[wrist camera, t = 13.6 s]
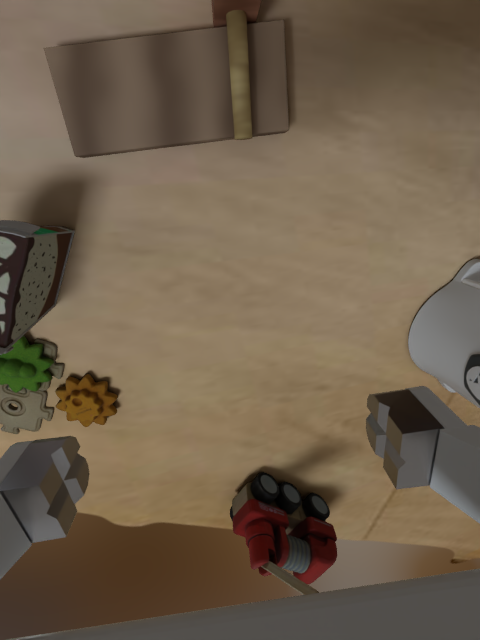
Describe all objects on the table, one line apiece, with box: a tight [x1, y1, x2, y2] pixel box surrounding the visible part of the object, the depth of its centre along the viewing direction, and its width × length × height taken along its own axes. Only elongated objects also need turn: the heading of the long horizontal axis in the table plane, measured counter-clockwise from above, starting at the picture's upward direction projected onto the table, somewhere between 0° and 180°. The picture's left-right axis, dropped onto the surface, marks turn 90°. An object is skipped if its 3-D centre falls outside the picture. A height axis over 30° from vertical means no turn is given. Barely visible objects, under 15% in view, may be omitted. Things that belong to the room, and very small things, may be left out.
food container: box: [0, 220, 75, 355], centre depth 30 cm, size 12×6×10 cm, turn 155°
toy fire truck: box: [230, 472, 337, 595], centre depth 45 cm, size 11×16×18 cm
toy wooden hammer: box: [212, 0, 261, 140], centre depth 27 cm, size 4×13×6 cm, turn 4°
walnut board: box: [44, 20, 289, 158], centre depth 29 cm, size 20×8×2 cm, turn 97°
